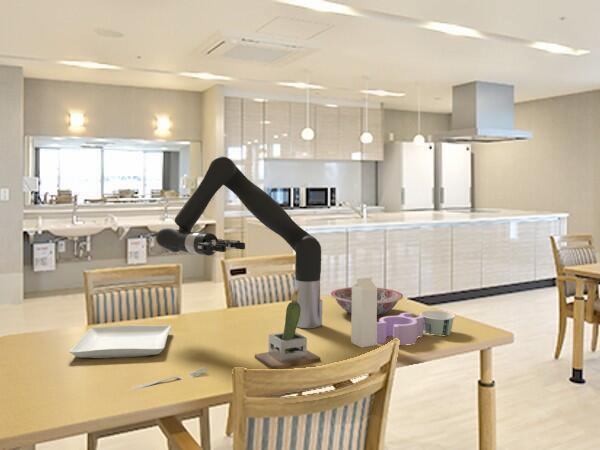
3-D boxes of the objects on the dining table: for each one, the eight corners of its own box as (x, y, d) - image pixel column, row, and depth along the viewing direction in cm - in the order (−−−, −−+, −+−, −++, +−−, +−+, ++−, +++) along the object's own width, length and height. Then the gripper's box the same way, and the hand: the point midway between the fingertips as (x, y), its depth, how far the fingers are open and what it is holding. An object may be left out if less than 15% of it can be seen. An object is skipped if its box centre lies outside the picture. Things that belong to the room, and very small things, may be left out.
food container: (462, 334, 183) (462, 316, 182) (437, 339, 177) (437, 320, 176) (437, 326, 193) (437, 308, 192) (412, 330, 187) (413, 312, 186)
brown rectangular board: (300, 349, 165) (300, 346, 165) (320, 360, 155) (320, 357, 155) (254, 357, 157) (254, 354, 157) (272, 370, 147) (272, 366, 147)
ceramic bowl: (315, 314, 210) (315, 294, 209) (356, 301, 232) (357, 284, 231) (377, 327, 191) (378, 306, 190) (415, 312, 213) (416, 293, 212)
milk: (376, 345, 170) (378, 278, 168) (361, 348, 167) (362, 280, 165) (365, 340, 175) (366, 275, 174) (350, 342, 172) (351, 277, 171)
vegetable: (278, 353, 158) (289, 288, 161) (292, 356, 158) (302, 290, 162) (279, 355, 154) (290, 287, 157) (294, 357, 154) (304, 290, 157)
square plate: (164, 360, 156) (163, 347, 156) (68, 364, 152) (67, 351, 152) (172, 334, 183) (172, 323, 183) (90, 336, 179) (90, 325, 179)
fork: (116, 391, 133) (115, 384, 133) (204, 372, 146) (204, 366, 146) (119, 395, 130) (119, 388, 130) (209, 375, 144) (209, 369, 144)
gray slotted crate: (292, 349, 162) (292, 330, 161) (306, 357, 155) (306, 338, 154) (268, 354, 158) (268, 334, 157) (281, 362, 150) (281, 342, 150)
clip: (400, 329, 189) (401, 310, 188) (432, 336, 181) (432, 316, 180) (369, 341, 174) (370, 321, 174) (402, 349, 166) (403, 328, 165)
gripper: (184, 234, 171) (218, 237, 161) (216, 231, 182) (250, 234, 172) (184, 256, 172) (218, 261, 162) (217, 252, 183) (250, 256, 173)
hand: (235, 247), depth 167 cm, fingers open, 8 cm apart
